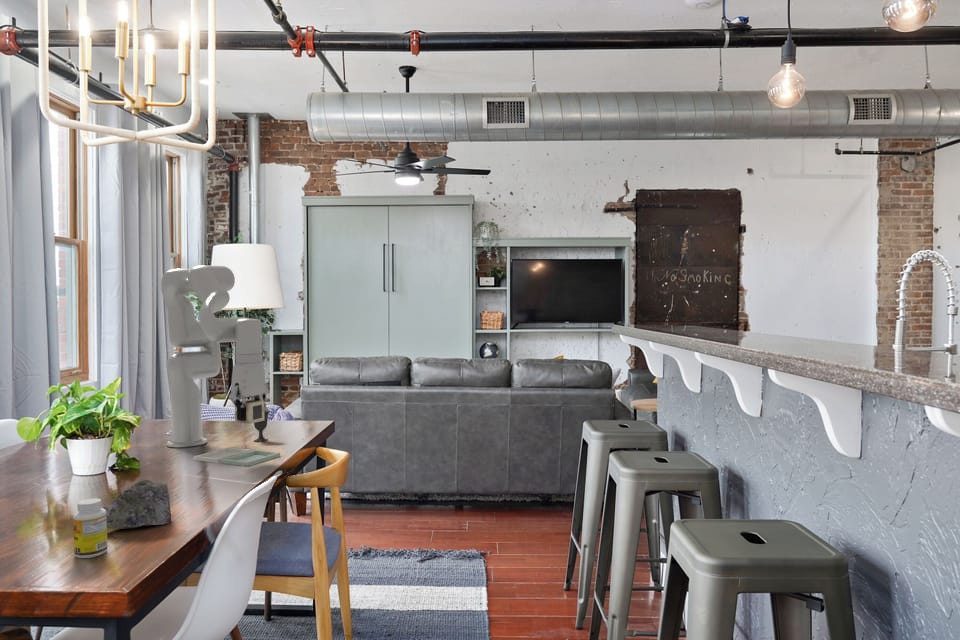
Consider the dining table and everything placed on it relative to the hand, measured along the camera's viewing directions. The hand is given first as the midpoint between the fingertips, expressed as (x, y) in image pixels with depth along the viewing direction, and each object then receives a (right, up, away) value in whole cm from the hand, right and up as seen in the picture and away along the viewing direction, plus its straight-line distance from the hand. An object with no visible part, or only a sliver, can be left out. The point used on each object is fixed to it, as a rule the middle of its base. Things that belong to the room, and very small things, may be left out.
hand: (249, 417), depth 206 cm
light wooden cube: (0, -1, 0) cm, 1 cm away
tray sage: (0, -13, 0) cm, 13 cm away
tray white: (-10, -13, +5) cm, 17 cm away
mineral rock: (-4, -15, -59) cm, 61 cm away
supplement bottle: (-5, -15, -76) cm, 78 cm away
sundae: (-7, -13, +31) cm, 34 cm away
